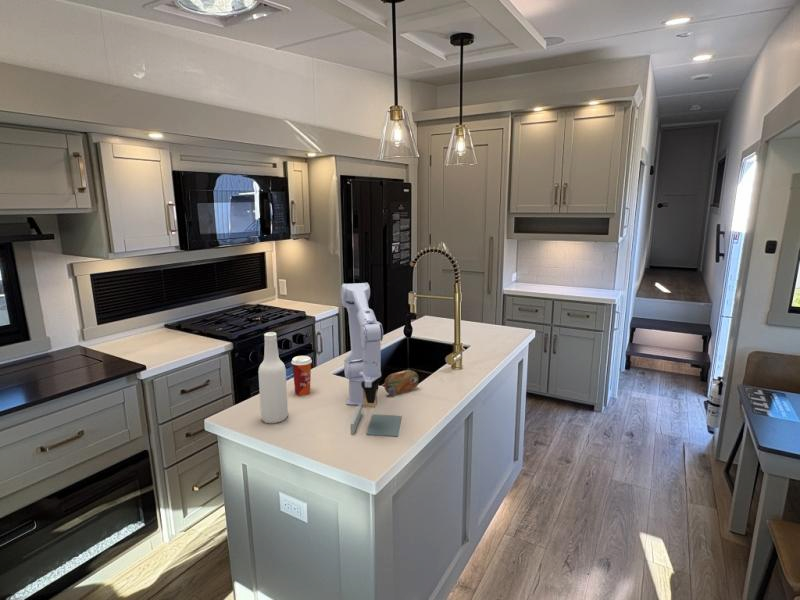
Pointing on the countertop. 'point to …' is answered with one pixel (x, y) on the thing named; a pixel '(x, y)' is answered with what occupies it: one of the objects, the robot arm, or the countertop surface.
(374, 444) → the countertop surface
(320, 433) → the countertop surface
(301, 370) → the paper cup
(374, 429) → the mat
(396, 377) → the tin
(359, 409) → the low wall
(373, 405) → the oak block
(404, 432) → the countertop surface
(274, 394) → the alcohol
